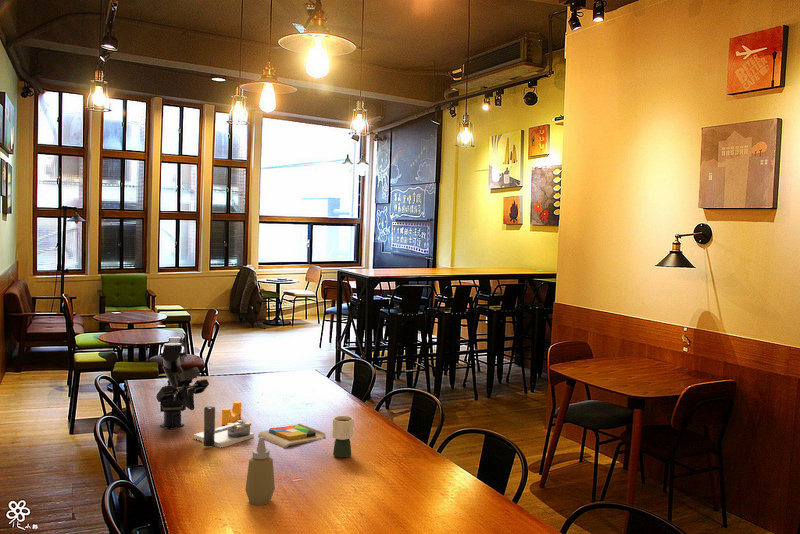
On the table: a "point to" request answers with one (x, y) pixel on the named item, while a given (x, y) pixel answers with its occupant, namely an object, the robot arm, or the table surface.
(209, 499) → the table surface
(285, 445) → the wooden puzzle
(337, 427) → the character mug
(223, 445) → the cap plate
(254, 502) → the squeeze bottle
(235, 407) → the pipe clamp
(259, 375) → the table surface
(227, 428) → the dark cylinder with bar
